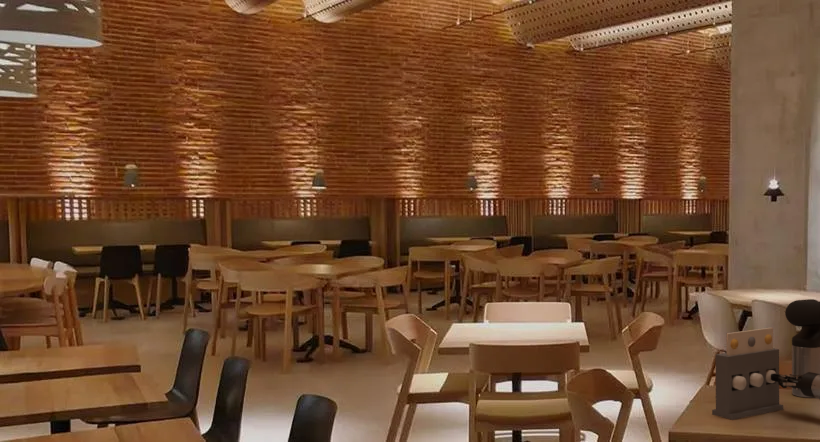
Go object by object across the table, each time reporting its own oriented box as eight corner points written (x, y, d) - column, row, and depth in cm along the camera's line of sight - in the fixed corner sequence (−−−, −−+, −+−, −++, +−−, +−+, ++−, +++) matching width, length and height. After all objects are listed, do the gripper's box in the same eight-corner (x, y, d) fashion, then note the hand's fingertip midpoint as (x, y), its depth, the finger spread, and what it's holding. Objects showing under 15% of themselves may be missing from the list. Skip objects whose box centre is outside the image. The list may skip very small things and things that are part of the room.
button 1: (738, 387, 273) (738, 374, 273) (746, 389, 270) (746, 376, 270) (729, 389, 271) (729, 375, 271) (737, 390, 268) (737, 377, 268)
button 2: (768, 380, 282) (768, 368, 282) (776, 382, 279) (776, 369, 279) (760, 382, 280) (760, 369, 280) (767, 384, 277) (767, 371, 277)
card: (771, 348, 281) (770, 327, 281) (773, 349, 280) (773, 328, 280) (726, 355, 271) (726, 333, 271) (729, 356, 270) (729, 333, 270)
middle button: (755, 384, 277) (755, 371, 276) (763, 386, 274) (763, 373, 274) (746, 386, 275) (746, 373, 274) (754, 387, 272) (754, 374, 272)
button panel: (762, 404, 286) (762, 346, 286) (783, 409, 279) (783, 349, 279) (712, 414, 275) (711, 353, 274) (732, 419, 268) (732, 357, 267)
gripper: (834, 372, 266) (785, 363, 281) (806, 376, 260) (758, 367, 275) (834, 396, 266) (785, 385, 281) (806, 401, 260) (758, 390, 275)
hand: (772, 376), depth 278 cm, fingers closed
